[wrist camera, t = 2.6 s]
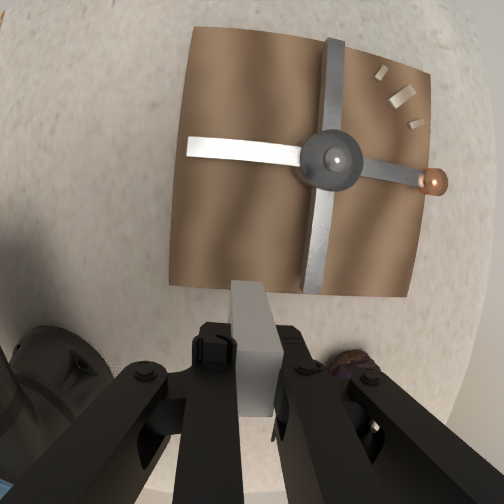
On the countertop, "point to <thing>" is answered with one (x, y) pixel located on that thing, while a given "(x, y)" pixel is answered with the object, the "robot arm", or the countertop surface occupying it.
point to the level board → (281, 177)
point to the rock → (351, 364)
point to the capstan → (322, 164)
